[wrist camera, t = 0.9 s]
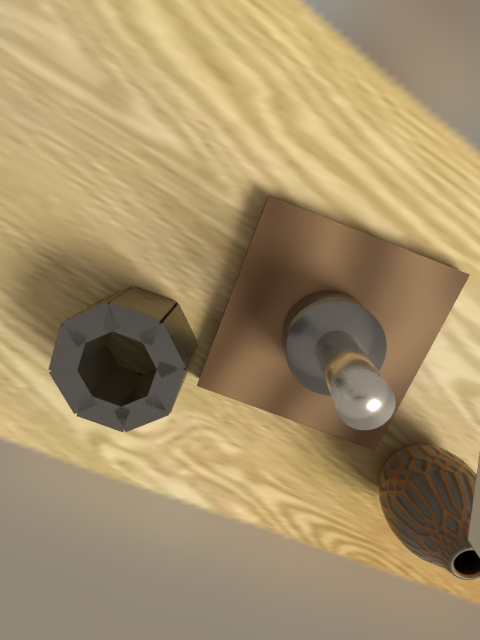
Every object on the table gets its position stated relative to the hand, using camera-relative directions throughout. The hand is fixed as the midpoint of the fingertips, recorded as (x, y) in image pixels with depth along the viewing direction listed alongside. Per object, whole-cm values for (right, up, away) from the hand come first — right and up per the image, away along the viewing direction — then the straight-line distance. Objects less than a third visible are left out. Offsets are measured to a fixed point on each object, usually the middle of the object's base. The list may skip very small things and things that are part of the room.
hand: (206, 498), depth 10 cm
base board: (+7, +4, +19) cm, 20 cm away
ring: (-7, +3, +20) cm, 21 cm away
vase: (+14, -7, +22) cm, 27 cm away
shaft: (+7, +3, +18) cm, 19 cm away
